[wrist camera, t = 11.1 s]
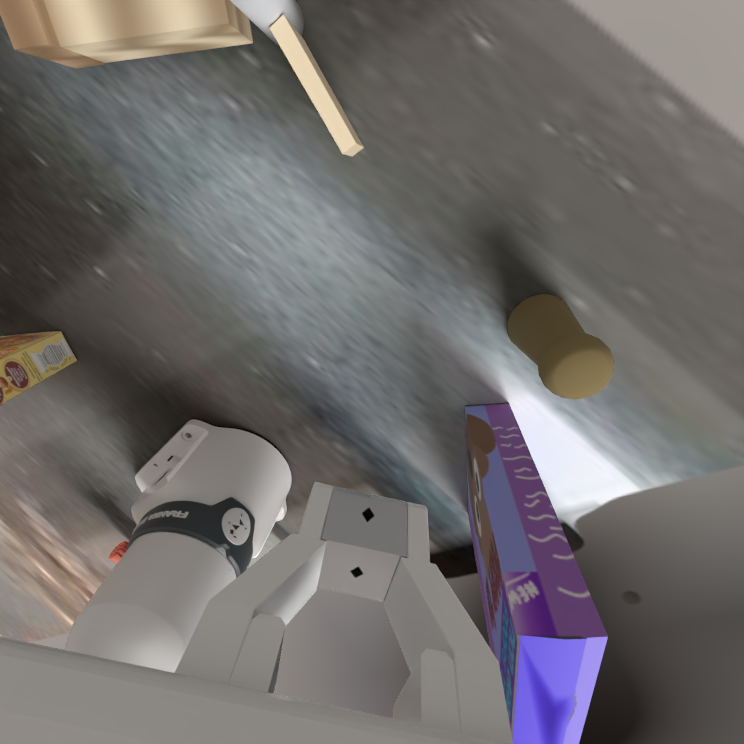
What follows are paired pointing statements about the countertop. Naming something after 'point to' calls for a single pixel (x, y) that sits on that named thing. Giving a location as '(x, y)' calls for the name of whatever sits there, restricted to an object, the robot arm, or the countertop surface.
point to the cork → (560, 347)
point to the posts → (302, 63)
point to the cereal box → (529, 585)
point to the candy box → (31, 360)
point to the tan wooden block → (121, 28)
